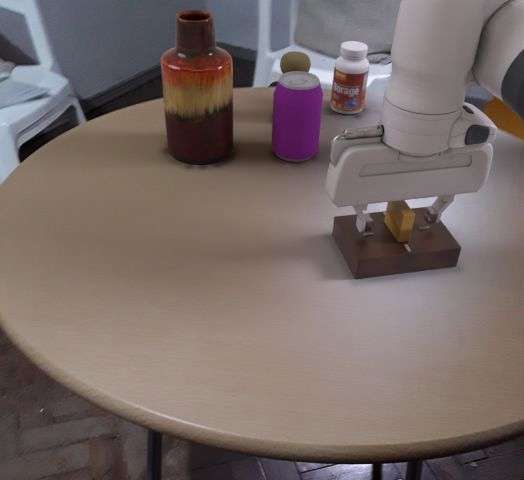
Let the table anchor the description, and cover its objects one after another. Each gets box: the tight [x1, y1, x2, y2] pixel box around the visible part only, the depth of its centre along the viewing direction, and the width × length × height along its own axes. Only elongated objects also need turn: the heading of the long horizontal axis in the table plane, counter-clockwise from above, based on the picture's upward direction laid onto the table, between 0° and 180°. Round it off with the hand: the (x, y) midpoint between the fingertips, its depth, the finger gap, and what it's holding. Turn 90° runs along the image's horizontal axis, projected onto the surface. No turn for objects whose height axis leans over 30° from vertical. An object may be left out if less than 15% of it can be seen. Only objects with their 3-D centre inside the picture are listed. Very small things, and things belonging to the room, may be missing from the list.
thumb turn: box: [384, 200, 415, 242], centre depth 81 cm, size 5×2×4 cm, turn 13°
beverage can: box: [271, 71, 324, 163], centre depth 100 cm, size 8×8×12 cm
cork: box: [279, 50, 312, 74], centre depth 109 cm, size 6×6×11 cm
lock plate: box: [331, 206, 462, 280], centre depth 84 cm, size 14×10×3 cm
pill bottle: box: [329, 40, 371, 115], centre depth 113 cm, size 6×6×11 cm
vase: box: [160, 9, 234, 165], centre depth 97 cm, size 11×11×20 cm
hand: (397, 225), depth 82 cm, fingers open, 8 cm apart
